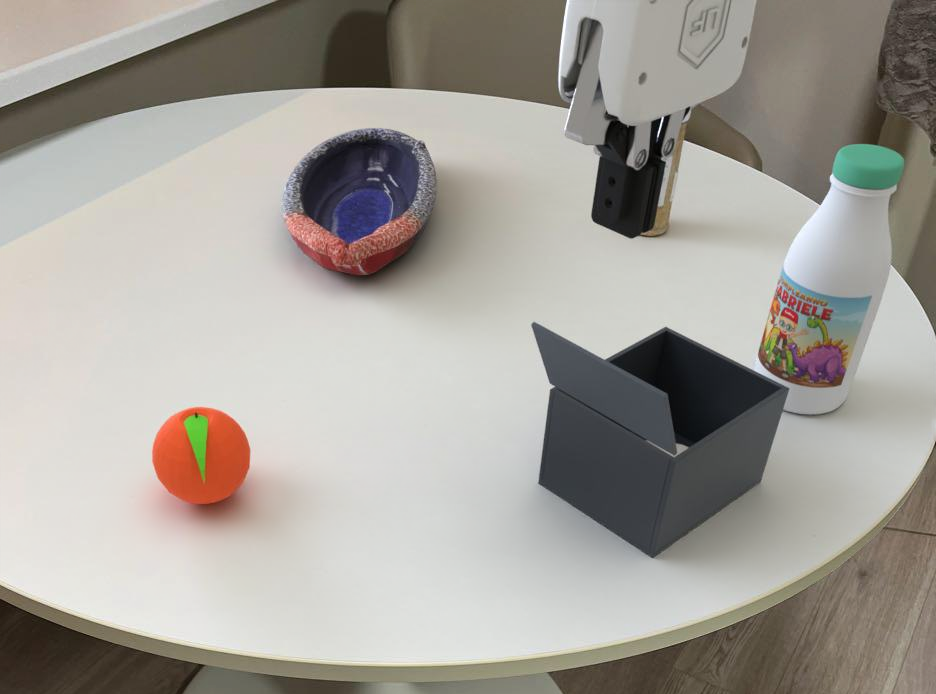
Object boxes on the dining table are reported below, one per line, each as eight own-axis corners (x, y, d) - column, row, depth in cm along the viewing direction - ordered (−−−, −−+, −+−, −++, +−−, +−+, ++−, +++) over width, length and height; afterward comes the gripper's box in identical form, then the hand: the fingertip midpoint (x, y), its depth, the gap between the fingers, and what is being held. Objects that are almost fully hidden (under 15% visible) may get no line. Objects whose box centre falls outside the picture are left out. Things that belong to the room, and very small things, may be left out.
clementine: (261, 526, 75) (253, 446, 70) (162, 540, 74) (147, 459, 69) (249, 458, 81) (240, 380, 76) (157, 470, 79) (142, 391, 75)
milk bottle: (780, 355, 92) (848, 124, 78) (862, 391, 88) (949, 155, 74) (732, 389, 88) (794, 153, 74) (816, 429, 84) (898, 187, 70)
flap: (677, 452, 67) (674, 456, 67) (552, 380, 73) (549, 383, 73) (667, 393, 62) (664, 397, 61) (533, 321, 67) (530, 324, 67)
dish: (448, 167, 121) (450, 123, 117) (417, 302, 98) (418, 252, 95) (315, 159, 122) (313, 115, 119) (254, 290, 100) (249, 240, 96)
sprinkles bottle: (676, 227, 110) (703, 96, 101) (650, 241, 108) (675, 108, 98) (640, 213, 112) (663, 83, 103) (614, 227, 110) (635, 95, 101)
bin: (652, 558, 73) (675, 462, 67) (537, 483, 79) (549, 389, 73) (760, 481, 79) (789, 388, 73) (646, 417, 85) (665, 326, 79)
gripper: (649, -128, 41) (585, 295, 53) (851, -168, 48) (754, 211, 61) (508, -156, 45) (479, 243, 57) (715, -190, 53) (650, 170, 65)
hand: (621, 225), depth 59 cm, fingers closed
